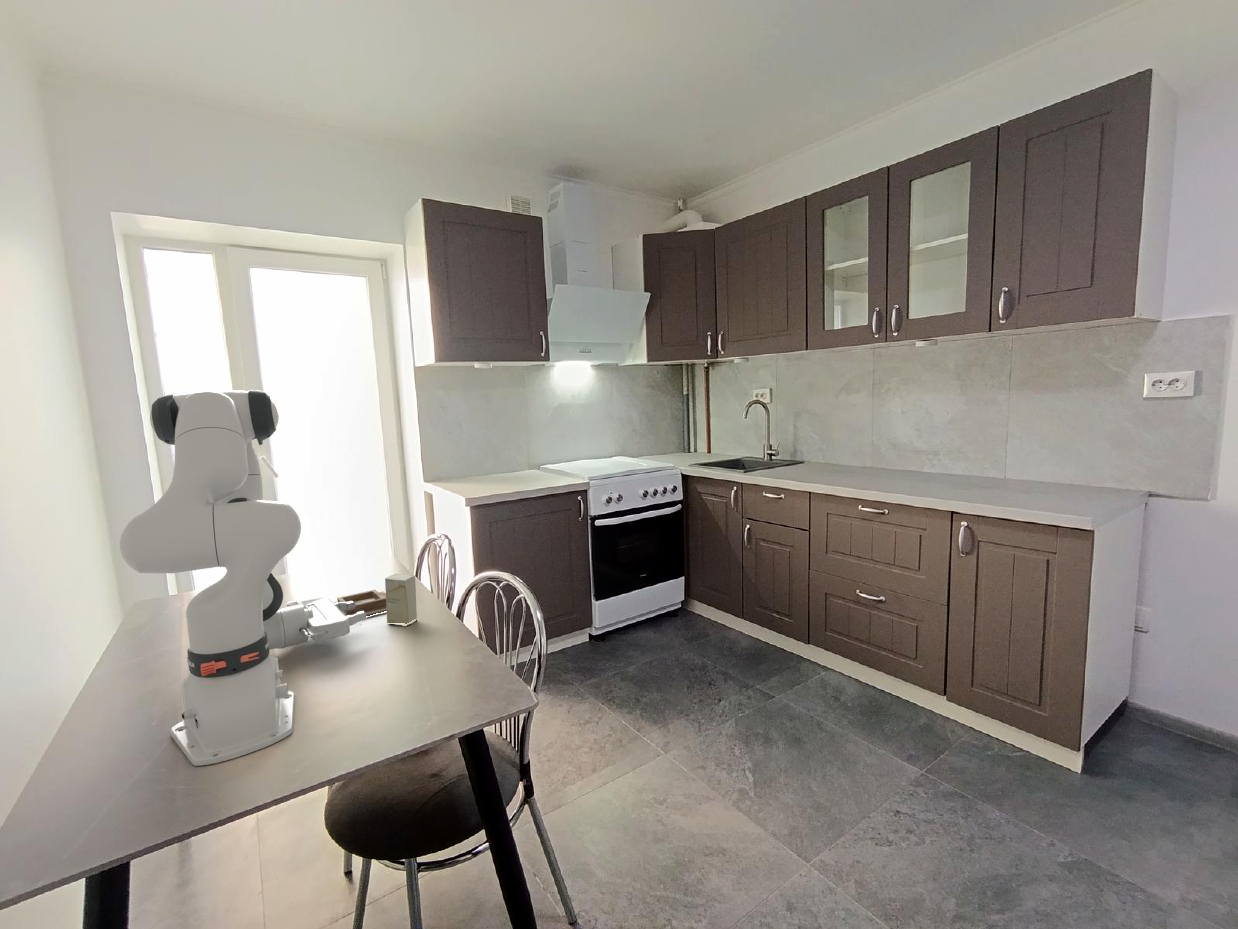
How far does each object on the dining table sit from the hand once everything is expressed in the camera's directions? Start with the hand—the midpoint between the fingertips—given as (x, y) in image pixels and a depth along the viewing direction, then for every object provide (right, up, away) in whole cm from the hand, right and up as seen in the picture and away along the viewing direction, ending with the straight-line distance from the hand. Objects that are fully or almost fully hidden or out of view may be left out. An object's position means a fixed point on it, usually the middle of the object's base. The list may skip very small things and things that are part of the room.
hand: (359, 609), depth 140 cm
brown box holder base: (-7, -4, +18) cm, 20 cm away
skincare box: (+8, -5, +7) cm, 12 cm away
